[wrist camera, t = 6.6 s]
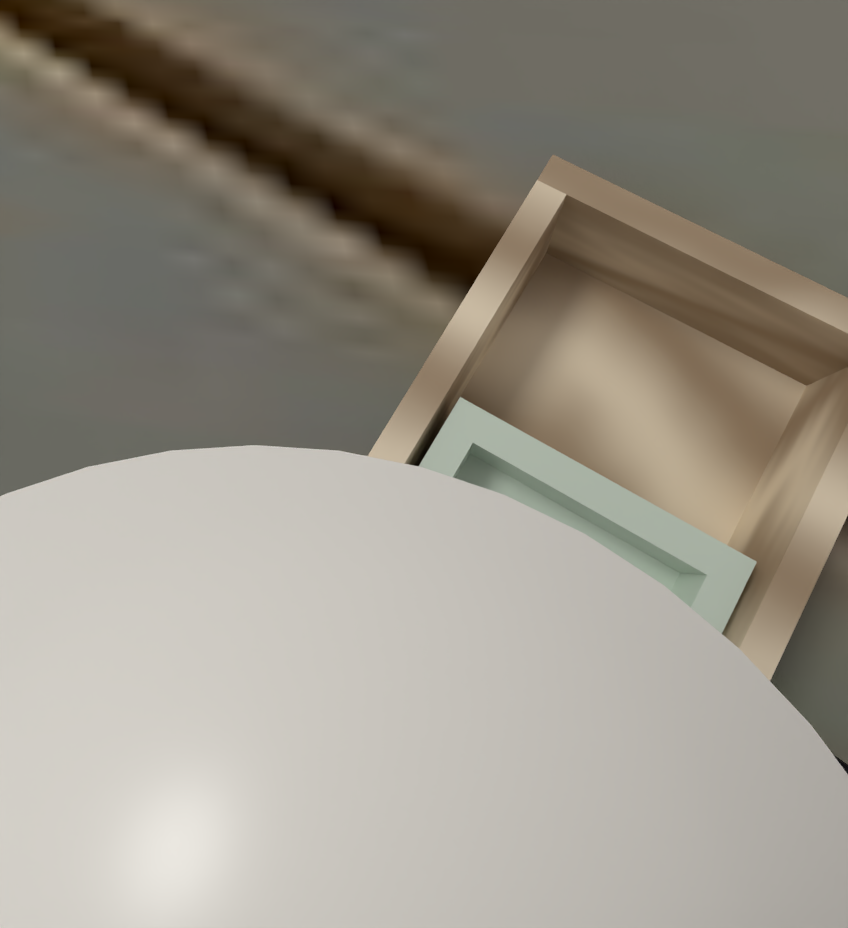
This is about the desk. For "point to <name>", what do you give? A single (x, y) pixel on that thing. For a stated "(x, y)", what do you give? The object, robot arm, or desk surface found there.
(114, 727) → the white rounded cylinder
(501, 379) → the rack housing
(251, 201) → the desk surface
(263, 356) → the desk surface
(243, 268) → the desk surface
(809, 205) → the desk surface
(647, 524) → the tray
